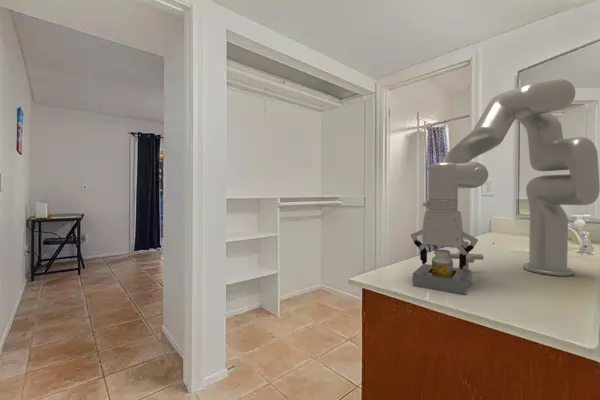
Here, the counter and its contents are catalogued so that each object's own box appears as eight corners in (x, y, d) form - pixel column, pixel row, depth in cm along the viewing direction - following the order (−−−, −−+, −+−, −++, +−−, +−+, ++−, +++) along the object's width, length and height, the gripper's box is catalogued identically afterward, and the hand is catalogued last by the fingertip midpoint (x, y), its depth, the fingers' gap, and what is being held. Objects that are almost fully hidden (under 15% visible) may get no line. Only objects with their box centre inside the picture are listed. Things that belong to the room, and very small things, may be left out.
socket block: (423, 274, 91) (423, 263, 91) (470, 281, 83) (470, 270, 83) (412, 285, 80) (412, 273, 80) (465, 295, 72) (465, 281, 72)
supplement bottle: (456, 285, 80) (457, 251, 80) (443, 287, 78) (444, 253, 78) (440, 279, 85) (440, 248, 85) (427, 282, 83) (427, 249, 83)
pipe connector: (489, 276, 88) (489, 244, 88) (454, 275, 90) (454, 243, 90) (475, 268, 98) (476, 239, 97) (444, 267, 100) (444, 238, 99)
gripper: (407, 206, 83) (407, 263, 83) (477, 207, 73) (476, 273, 73) (414, 205, 89) (414, 259, 90) (479, 206, 79) (478, 267, 79)
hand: (442, 265), depth 81 cm, fingers open, 9 cm apart
